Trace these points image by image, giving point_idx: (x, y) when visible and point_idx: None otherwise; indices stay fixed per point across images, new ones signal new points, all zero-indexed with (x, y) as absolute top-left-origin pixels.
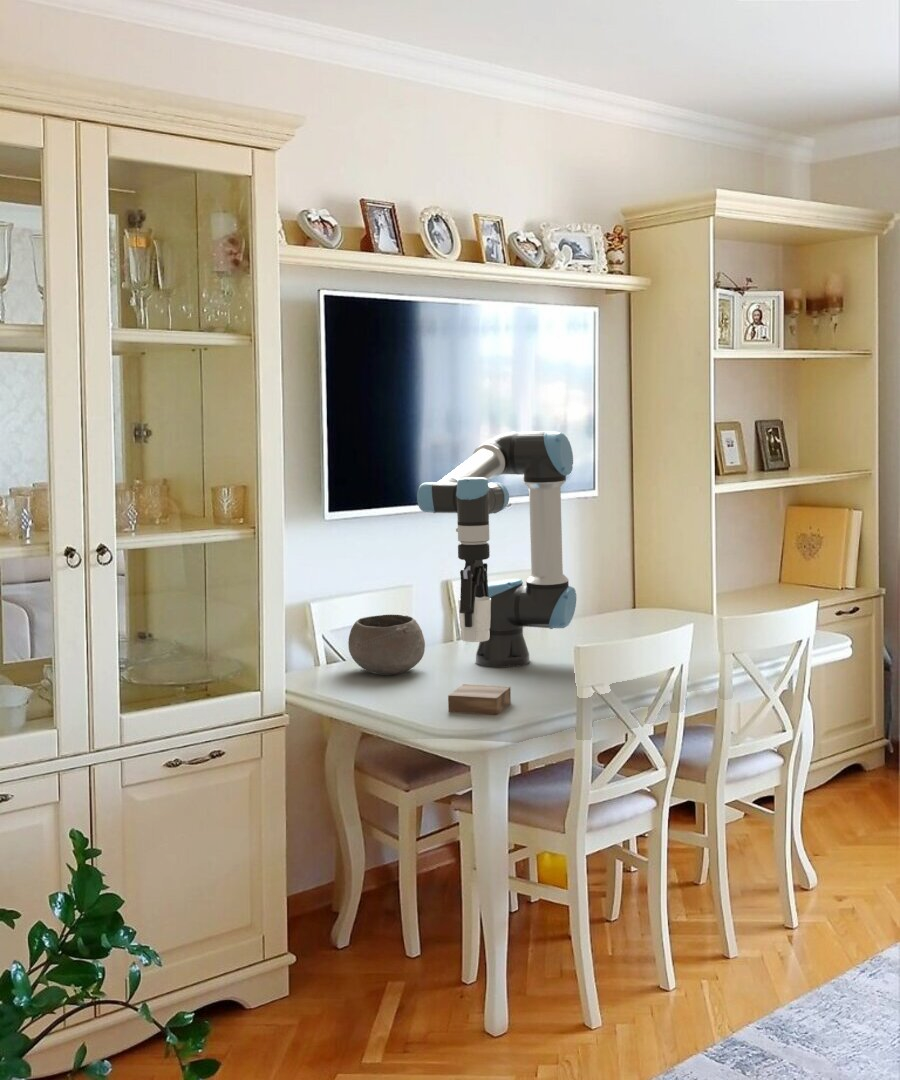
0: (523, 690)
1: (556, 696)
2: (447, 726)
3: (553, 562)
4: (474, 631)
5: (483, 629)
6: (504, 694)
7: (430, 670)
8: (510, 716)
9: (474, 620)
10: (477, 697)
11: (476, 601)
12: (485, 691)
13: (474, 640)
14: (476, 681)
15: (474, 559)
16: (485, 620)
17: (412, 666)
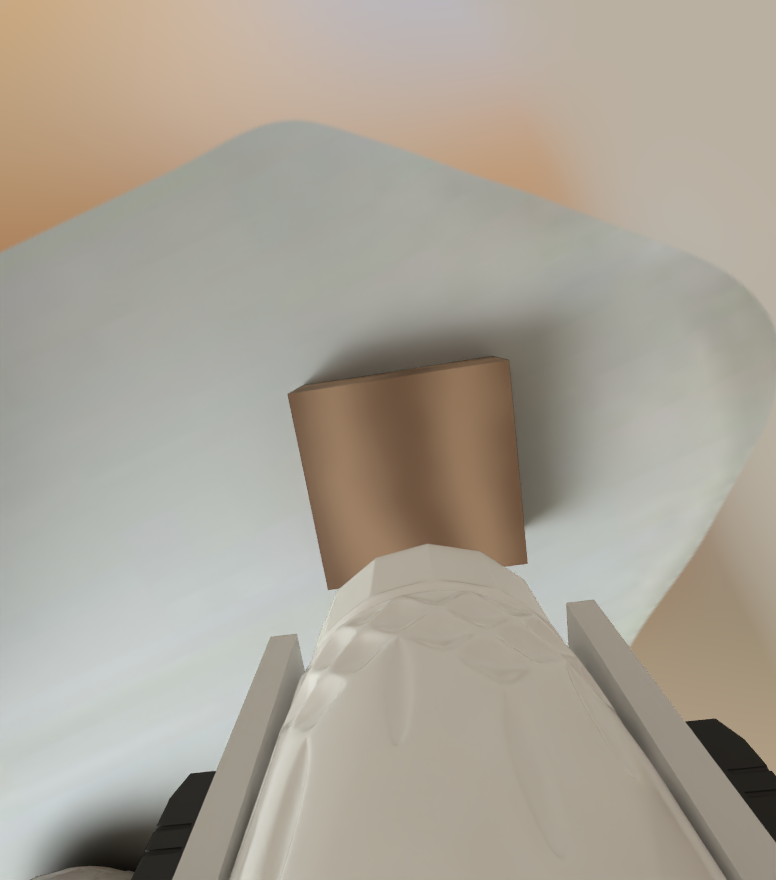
0: (101, 422)
1: (121, 254)
2: (699, 451)
3: None
4: (636, 659)
5: (533, 615)
6: (385, 377)
7: (16, 819)
8: (495, 296)
9: (718, 768)
10: (515, 444)
11: None
12: (411, 456)
13: (593, 604)
14: (69, 632)
15: None
16: (546, 673)
17: (92, 869)
